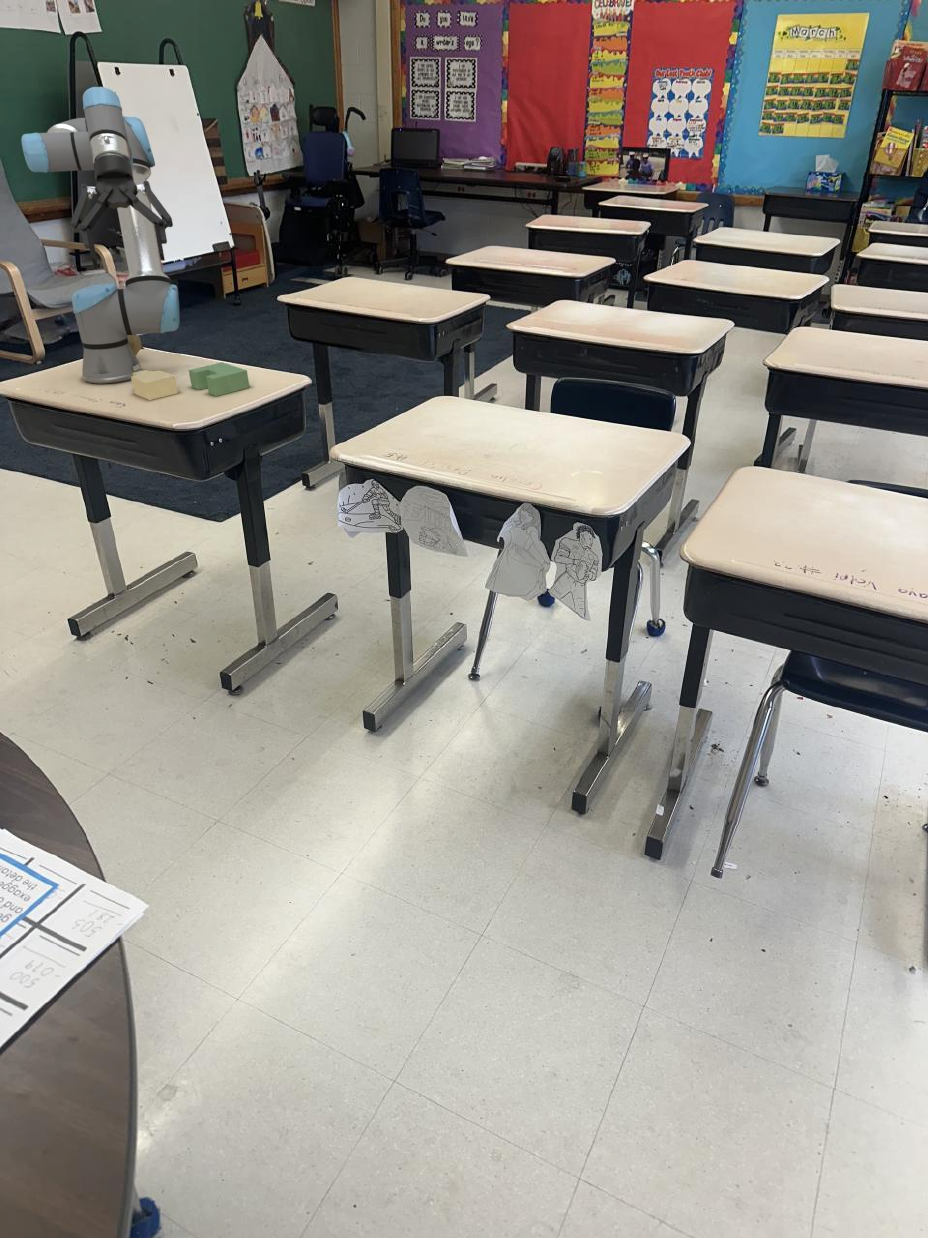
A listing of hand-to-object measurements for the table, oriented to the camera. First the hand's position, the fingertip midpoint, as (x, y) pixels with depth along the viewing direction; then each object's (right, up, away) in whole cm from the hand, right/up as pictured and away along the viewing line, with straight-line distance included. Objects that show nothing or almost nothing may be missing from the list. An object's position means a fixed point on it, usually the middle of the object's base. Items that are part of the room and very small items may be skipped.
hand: (128, 259), depth 180 cm
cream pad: (-10, -17, +41) cm, 46 cm away
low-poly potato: (-29, 0, +69) cm, 75 cm away
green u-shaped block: (+7, -15, +44) cm, 47 cm away
